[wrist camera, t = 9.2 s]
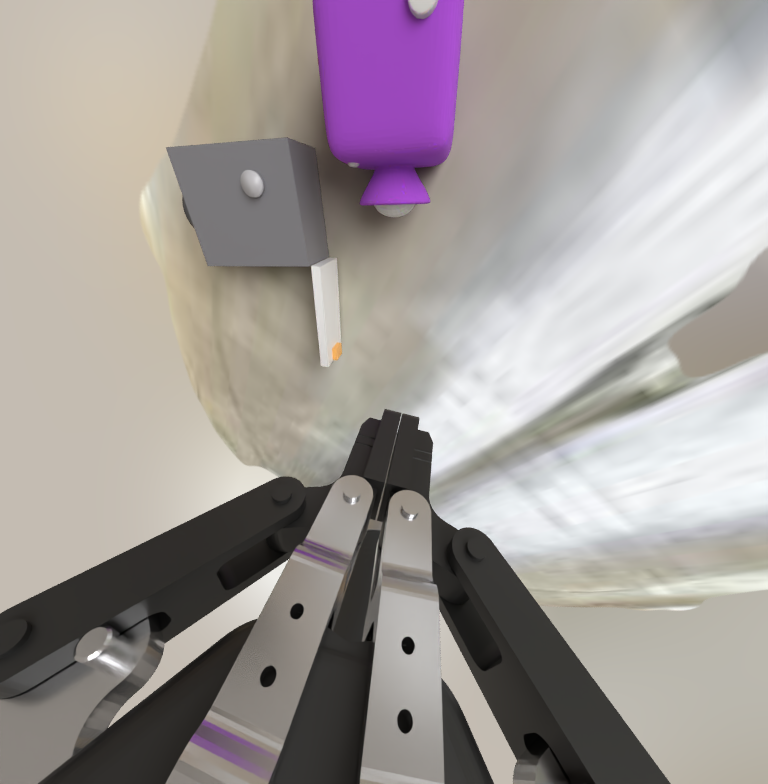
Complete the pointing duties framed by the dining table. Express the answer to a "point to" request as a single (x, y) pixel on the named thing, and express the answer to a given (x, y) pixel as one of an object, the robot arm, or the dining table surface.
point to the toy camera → (389, 90)
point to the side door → (327, 309)
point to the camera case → (253, 201)
